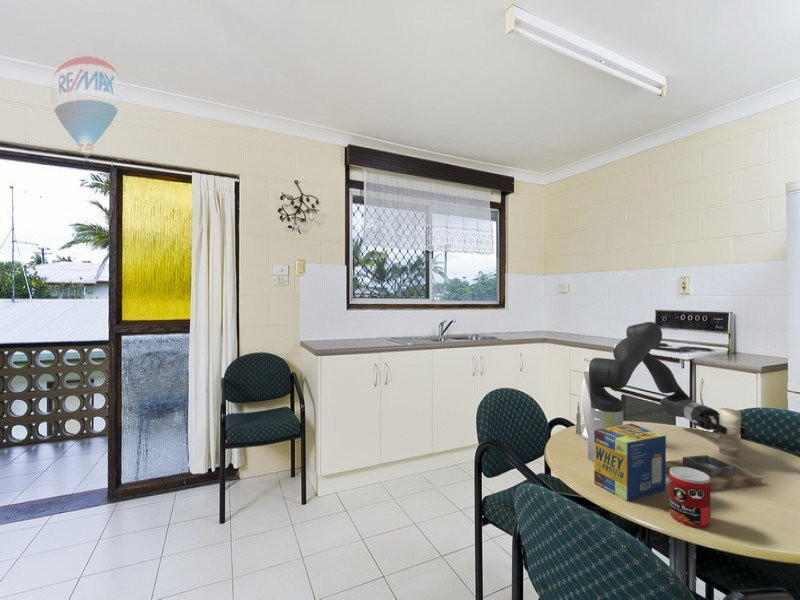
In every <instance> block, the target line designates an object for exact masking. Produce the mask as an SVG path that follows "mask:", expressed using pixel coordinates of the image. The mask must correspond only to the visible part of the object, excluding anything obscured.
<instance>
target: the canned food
mask: <svg viewBox="0 0 800 600" xmlns="http://www.w3.org/2000/svg"><path fill="white" fill-rule="evenodd" d="M668 474H669V475H668V477H669V482H668V483H669V486H668V487H669V488H668V489H669V494H668V495H669V501H668V502H669V503H668V504H669V507H668V508H669V509H668V511H669V514H670V516H671V517H672V519H673V520H675V521H676V520H677V521H676V522H678V523H680V522H681V523H680V524H682V523H683V524H682V525H684V524H685V525H684V526H687V525H689V526H688V527H691V526H692V528H696V527H698V528H697V529H702V528H703V527H704V528H707V527H709V526H710V523H711V502H712V501H711V498H712V497H711V496H712V495H711V491H712V490H711V484H710V477H709V476H708V475H707V474H705V473H704V472H701V471H699V470H696V469H692V468H687V467H672V468H670V471H669V473H668ZM708 525H709V526H708Z"/></svg>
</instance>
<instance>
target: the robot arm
mask: <svg viewBox="0 0 800 600" xmlns="http://www.w3.org/2000/svg"><path fill="white" fill-rule="evenodd" d="M625 331H626V337H625V338H624V339H622V340H620V341H619V342H618V343H617V344H616V346H615V347H614V349H613V351H612V353H613V357H614V358H613V359H612V358H603V357H593V358H591V360H590V361H589V387H590V401H591V429H589V430H588V440H587V458H588V459H589V460H591V461H592V462H594V430H598V429H604V428H609V427H615V426H621V425H624V402H623V401H622V399H620V398H619V397H616V396H614V395H612V394H611V393H610V392H608V391H607V389H606V388H608V389H613V390H614V389H615V390H622V389H623V388H625V387H626V386H627V385H628V383H629V381H630V380H631V377H632V375H633V374H634V371H635V370H636V368H637V367H638V366H639V365H640V364H641V363H643V364H644V366H645V367H646V369H647V370H648V372H649V374H650V375H651V377H652V379H653V381H654V384H655V385H656V387H657V389H658V392H660V393H662V394H670V395H668V396H665V397H663V398H661V400H660V402H659V403H660V407H661V409H662V411H664V412H665V413H666V414H667V415H669V416H672V417H678V418H685V419H686V420H688V421H690V422H691V423H692V424H693V425H694V426H697V427H699V428H700V429H701V428H702V429H704V430H706V431H714V432H718V433H719V432H720V433H722V434H727V428H726V427H724V426H722V425H720V424H719V412H718V411H717V410H716V409H714V408H712V407H709V406H707V405H704V404H702V403H698V402H696V401H693V400H692V399H691V397H690V396H689V395H688V394H687V392H685V391H684V390H683V389H682V387H681V386H680V384H679V383H678V382H677V380H676V378H675V376H674V373H673V372H672V370H671V369H670V367H668V366H667V365H666V364H665V363H663V362H662V361H661V360H660V359H658V358H656V357H655V356H654V355H653V354H652V353H650V352H651V351H652V350H653V349H655V347H657V346H658V345H660V344H661V342H662V339H663V332H662V329H661V327H660V326H659V325H658V323H655V322H652V321H647V322H642V323H636V324H633V325H629V326H627V328H626V330H625ZM745 426H746V424H745V423H744V422H742V421H741V435H743V436H748V432H749V431H748V428H746V427H745Z"/></svg>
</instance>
